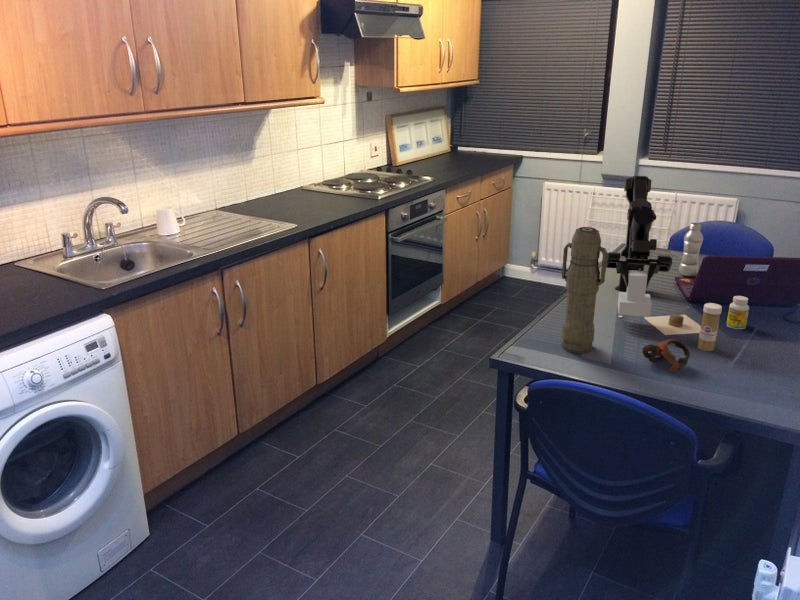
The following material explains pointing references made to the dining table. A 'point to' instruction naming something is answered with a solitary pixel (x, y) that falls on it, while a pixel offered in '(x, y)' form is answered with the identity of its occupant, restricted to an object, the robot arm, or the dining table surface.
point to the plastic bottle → (691, 250)
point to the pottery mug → (667, 353)
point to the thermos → (582, 288)
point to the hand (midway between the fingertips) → (636, 286)
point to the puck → (676, 320)
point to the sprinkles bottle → (709, 326)
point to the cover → (635, 296)
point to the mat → (666, 329)
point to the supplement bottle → (738, 313)
